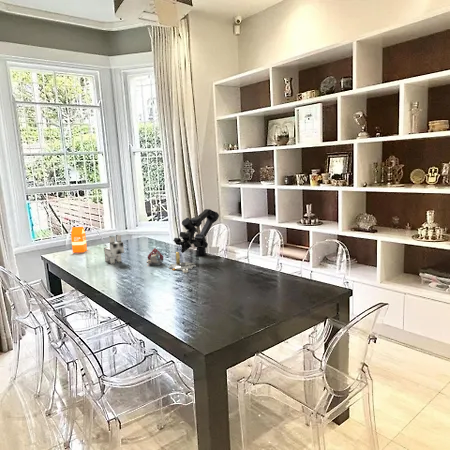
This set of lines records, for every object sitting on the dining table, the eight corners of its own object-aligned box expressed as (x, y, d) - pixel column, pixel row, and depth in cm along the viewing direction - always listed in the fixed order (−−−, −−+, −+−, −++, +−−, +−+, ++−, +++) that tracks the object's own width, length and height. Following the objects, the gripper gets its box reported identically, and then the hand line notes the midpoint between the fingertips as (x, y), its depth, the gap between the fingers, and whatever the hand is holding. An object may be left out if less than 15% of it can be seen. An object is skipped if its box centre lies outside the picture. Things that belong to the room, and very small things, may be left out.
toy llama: (113, 258, 286) (111, 232, 282) (124, 263, 273) (122, 235, 269) (103, 261, 281) (101, 233, 277) (114, 265, 268) (112, 236, 264)
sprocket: (184, 261, 270) (183, 249, 268) (201, 265, 258) (201, 253, 256) (163, 267, 257) (162, 254, 256) (180, 272, 245) (179, 258, 244)
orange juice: (83, 252, 310) (81, 227, 307) (72, 252, 311) (70, 227, 307) (87, 249, 318) (84, 225, 315) (76, 250, 318) (73, 226, 315)
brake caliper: (166, 258, 273) (162, 247, 264) (163, 270, 265) (159, 260, 257) (151, 258, 274) (146, 247, 266) (147, 270, 267) (142, 260, 258)
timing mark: (182, 271, 247) (182, 268, 247) (187, 271, 248) (187, 268, 248) (183, 272, 244) (183, 269, 244) (188, 272, 245) (188, 269, 245)
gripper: (174, 226, 271) (165, 245, 264) (196, 227, 262) (188, 247, 255) (181, 235, 279) (172, 253, 272) (203, 237, 270) (195, 256, 263)
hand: (182, 252), depth 265 cm, fingers closed
